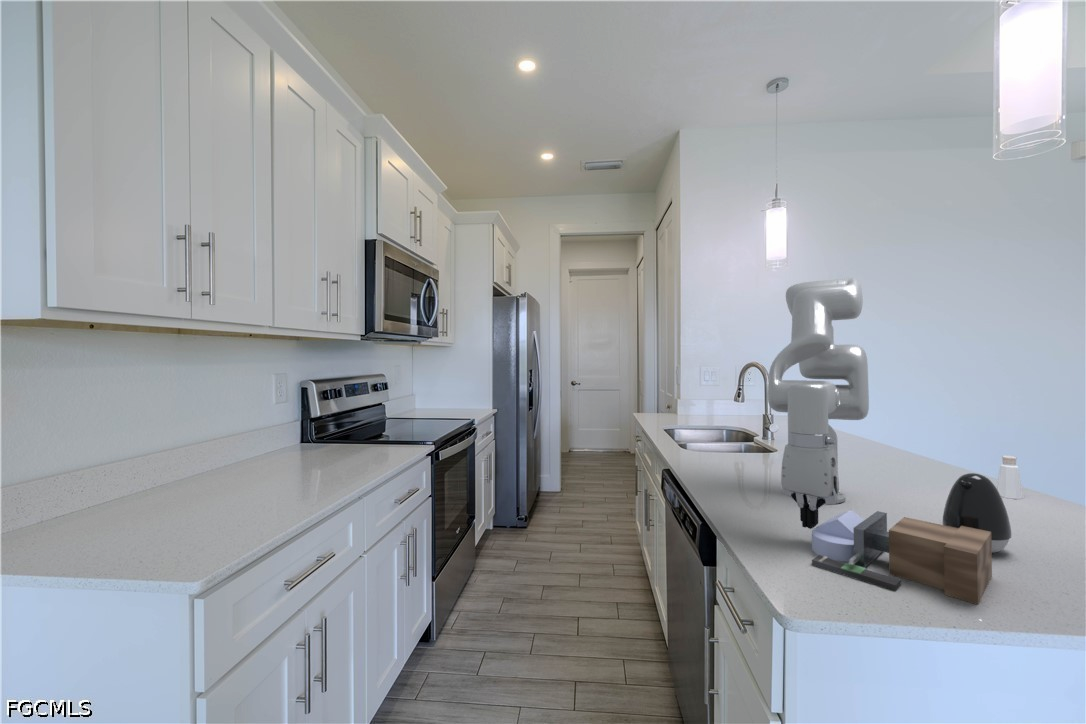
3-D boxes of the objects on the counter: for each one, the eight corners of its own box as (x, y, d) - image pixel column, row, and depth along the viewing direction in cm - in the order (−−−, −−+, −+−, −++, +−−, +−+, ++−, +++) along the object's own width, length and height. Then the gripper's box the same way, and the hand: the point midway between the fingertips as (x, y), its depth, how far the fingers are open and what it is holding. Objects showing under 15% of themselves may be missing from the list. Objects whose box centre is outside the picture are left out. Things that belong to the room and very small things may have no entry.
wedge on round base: (828, 534, 101) (804, 551, 93) (827, 504, 101) (804, 518, 93) (876, 547, 94) (856, 566, 86) (876, 514, 94) (856, 531, 86)
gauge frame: (846, 539, 99) (846, 502, 99) (992, 576, 81) (991, 531, 81) (812, 564, 87) (811, 523, 87) (972, 615, 69) (971, 562, 69)
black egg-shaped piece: (931, 543, 96) (930, 471, 95) (959, 534, 100) (958, 465, 100) (994, 563, 86) (993, 482, 86) (1022, 552, 90) (1021, 476, 90)
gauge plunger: (877, 544, 94) (877, 511, 94) (943, 561, 86) (943, 524, 86) (846, 571, 83) (845, 533, 83) (919, 594, 75) (918, 551, 75)
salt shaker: (991, 492, 128) (990, 453, 128) (1015, 494, 127) (1015, 454, 127) (1003, 498, 123) (1003, 457, 123) (1029, 500, 122) (1028, 458, 121)
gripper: (854, 443, 94) (856, 532, 94) (780, 434, 106) (781, 513, 106) (841, 447, 89) (842, 541, 89) (764, 438, 101) (765, 521, 101)
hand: (809, 526), depth 98 cm, fingers closed
